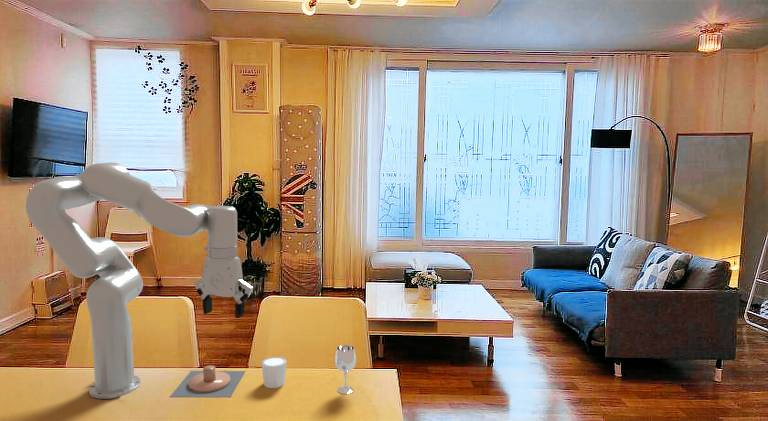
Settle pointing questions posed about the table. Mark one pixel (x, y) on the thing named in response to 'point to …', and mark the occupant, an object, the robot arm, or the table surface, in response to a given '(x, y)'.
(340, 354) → the wineglass
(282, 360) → the white cup
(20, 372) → the table surface
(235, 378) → the mat
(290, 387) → the table surface
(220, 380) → the lid
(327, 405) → the table surface
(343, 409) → the table surface
